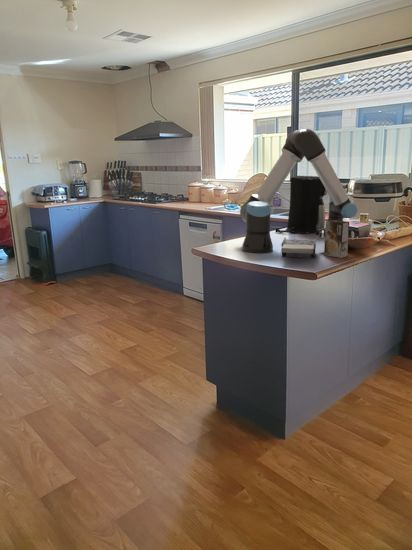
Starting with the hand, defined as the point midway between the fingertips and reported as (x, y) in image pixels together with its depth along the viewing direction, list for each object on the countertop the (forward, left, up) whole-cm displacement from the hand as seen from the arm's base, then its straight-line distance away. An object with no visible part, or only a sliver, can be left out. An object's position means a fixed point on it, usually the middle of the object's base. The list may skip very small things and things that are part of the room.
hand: (337, 236), depth 201 cm
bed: (-17, -4, -9) cm, 20 cm away
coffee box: (-1, -2, -9) cm, 9 cm away
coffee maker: (-20, +68, -9) cm, 71 cm away
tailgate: (-17, -12, -3) cm, 21 cm away
